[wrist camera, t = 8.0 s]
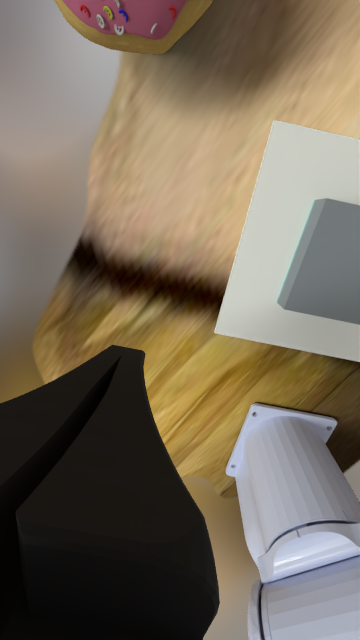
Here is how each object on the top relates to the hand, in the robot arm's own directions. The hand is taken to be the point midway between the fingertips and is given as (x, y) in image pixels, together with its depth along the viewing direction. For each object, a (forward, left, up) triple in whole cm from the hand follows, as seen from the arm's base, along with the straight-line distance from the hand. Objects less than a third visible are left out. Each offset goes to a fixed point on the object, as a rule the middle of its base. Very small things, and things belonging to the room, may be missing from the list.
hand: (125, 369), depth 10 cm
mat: (+5, -12, -10) cm, 16 cm away
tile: (+5, -9, -9) cm, 13 cm away
